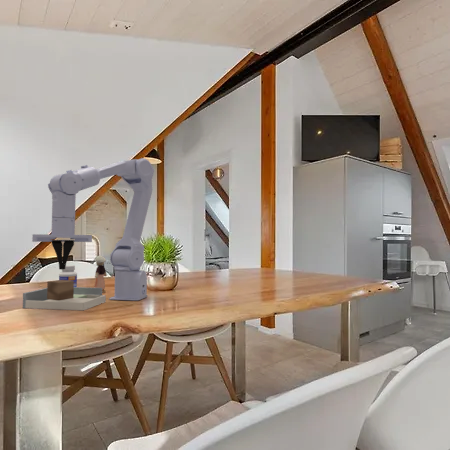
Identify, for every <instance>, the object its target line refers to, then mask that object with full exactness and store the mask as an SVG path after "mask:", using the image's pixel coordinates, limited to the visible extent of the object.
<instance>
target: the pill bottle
mask: <svg viewBox="0 0 450 450" xmlns="http://www.w3.org/2000/svg"><path fill="white" fill-rule="evenodd" d="M75 270H76V266H75V264H71V265H69V264H66V267H65V269H61V272H60V273H59V274H58V280H70V281H74V287H78V284H77V283H78V273H77V272H76V271H75Z"/></svg>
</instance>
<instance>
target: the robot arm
mask: <svg viewBox="0 0 450 450" xmlns="http://www.w3.org/2000/svg"><path fill="white" fill-rule="evenodd" d="M154 172H155V170H154V168H153V165H152V164H151V162H150V161H149V160H148V159H147V158H144V157H141V158H139V159H128V160H127V159H126V160H122V161H121V160H120V161H116V162H112V163H109V164H106V165H104V166H102V167H98V168H96V167H95V166H91V165H90V166H89V165H87V164H86V165H85V164H84V165H81V166H80V168H78V169H75V170H72V169H68V170H66V172H65V173H61V174H56V175H54V176H52V178H51V179H50V181H49V183H48V184H47V188H48V190H49V192H51V199H52V201H51V202H52V203H51V204H52V206H51V234H47V233H45V234H44V233H43V234H42V233H41V234H40V233H39V234H37V233H36V234H35V233H33V234H32V238H31V239H32V241H31V242H33V243H34V242H35V243H36V242H38V243H39V242H45V243H46V242H47V243H49V242H51V245H52V247H53V249H54V253H55V254H56V259H57V262H58V269H59V270H62V269H65V267H66V265H67V261H68V260H69V259H68V258H69V256H70V254H71V252H72V250H73V247H74V246H75V243H92V242H93V235H92V234H75V232H76V230H75V229H76V201H77V200H76V198H77V197H76V196H77V195H76V194H78V193H79V192H80V191H83V190H86V189H91V188H92V187H95V186H97V185H99V183H100V180H102V179H106V178H109V177H113V176H116V175H117V177H121V178H122V180H123V181H124V182H125V183H126V184H127V185H128V187H130V188H131V189H132V191H133V196H132V199H131V204H130V207H129V211H128V216H127V219H126V221H125V222H126V224H125V226H124V229H123V230H124V231H123V235H122V238H121V239H120V240H118V241H117V242H116V243H115V246H114V249H113V250H112V251H111V253H110V257H109V260H110V264H111V266H113V270H114V296H111V297H109V299H108V300H111V301H112V300H114V301H115V300H116V301H140V300H142V299H145V298H147V297H148V294H147V293H148V292H147V291H148V290H147V289H148V288H147V287H148V277H147V276H148V275H147V272H146V271H145V270H141V267H142V266H143V264H144V262H145V255H144V254H145V253H144V252H145V246H144V245H143V243H142V242H141V238H142V236H143V231H144V226H145V221H146V219H147V213H148V210H149V207H150V201H151V198H152V195H153V194H152V193H153V176H154ZM57 238H58V239H57ZM60 238H61V239H60ZM62 238H63V239H62ZM64 238H66V239H64Z"/></svg>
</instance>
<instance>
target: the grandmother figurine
mask: <svg viewBox="0 0 450 450" xmlns="http://www.w3.org/2000/svg"><path fill="white" fill-rule="evenodd" d="M95 261H96V262H95V263H96V265H97V267H96V270H95V275H94V278H95V281H94V285H93V286H94V287H93V288H102V294H103V293H105V292H107V291H106V290H105V289H106V282H105V281H106V280H105V278H104V277H107V275H108V274H107V270H106V268H105V265H104V264H105V263H106V261H107V259H106V258H105V257H104V256H103V255H97V256H96V258H95Z"/></svg>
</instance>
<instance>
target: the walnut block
mask: <svg viewBox="0 0 450 450" xmlns="http://www.w3.org/2000/svg"><path fill="white" fill-rule="evenodd" d="M46 288H47V299H51V300H64V299H70V298H73V295H74V281H70V280H59V279H58V280H49V281H47V286H46Z"/></svg>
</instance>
